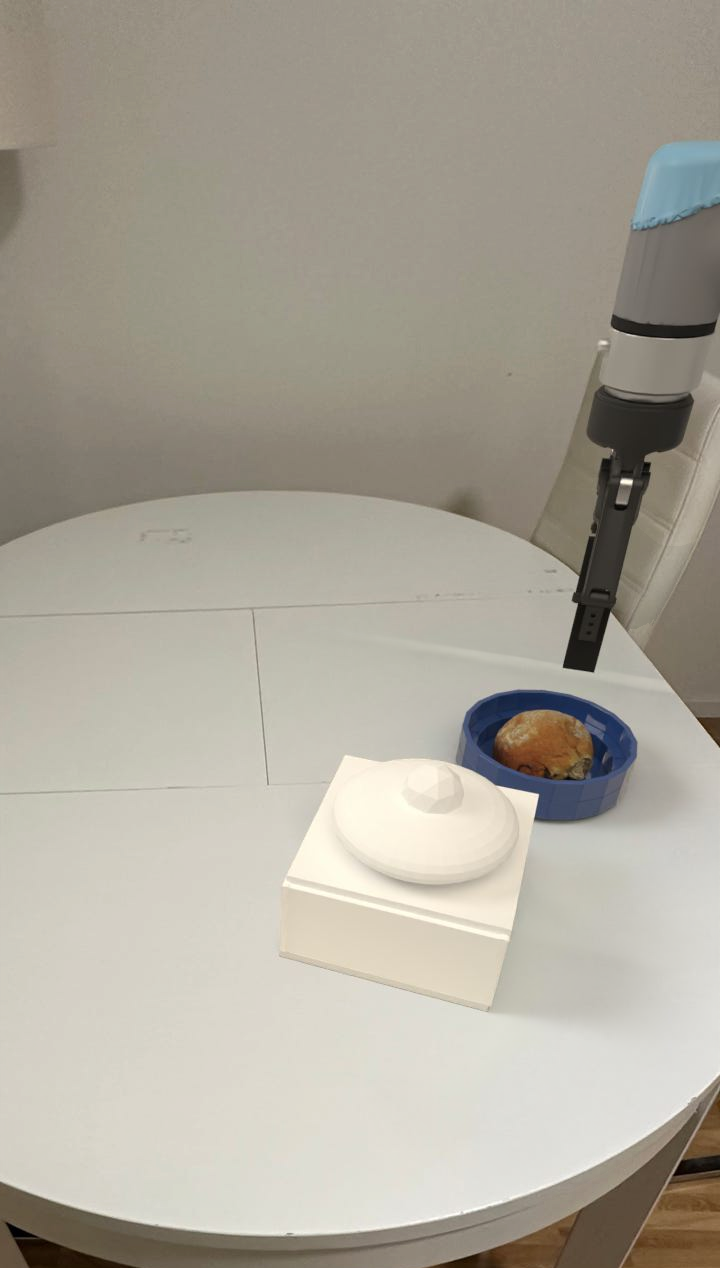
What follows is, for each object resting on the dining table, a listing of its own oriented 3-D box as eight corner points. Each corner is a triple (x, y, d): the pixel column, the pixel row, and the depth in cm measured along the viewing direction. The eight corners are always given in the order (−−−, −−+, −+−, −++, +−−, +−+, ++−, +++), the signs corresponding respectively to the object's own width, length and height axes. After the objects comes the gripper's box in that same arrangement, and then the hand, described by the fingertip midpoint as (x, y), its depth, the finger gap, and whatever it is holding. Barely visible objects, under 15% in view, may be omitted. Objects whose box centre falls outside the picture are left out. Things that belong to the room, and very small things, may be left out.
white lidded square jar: (279, 956, 77) (284, 808, 66) (336, 828, 90) (348, 687, 79) (489, 1012, 72) (530, 863, 62) (518, 869, 85) (557, 725, 74)
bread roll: (572, 778, 101) (580, 705, 98) (605, 798, 91) (615, 717, 89) (482, 776, 101) (488, 704, 99) (505, 796, 91) (513, 715, 89)
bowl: (626, 744, 100) (639, 705, 97) (620, 839, 88) (635, 798, 85) (469, 716, 105) (476, 678, 101) (443, 803, 92) (450, 763, 89)
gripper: (603, 349, 82) (553, 575, 96) (586, 431, 64) (528, 693, 78) (692, 355, 80) (628, 584, 94) (701, 440, 62) (620, 707, 76)
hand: (583, 634), depth 86 cm, fingers open, 13 cm apart
